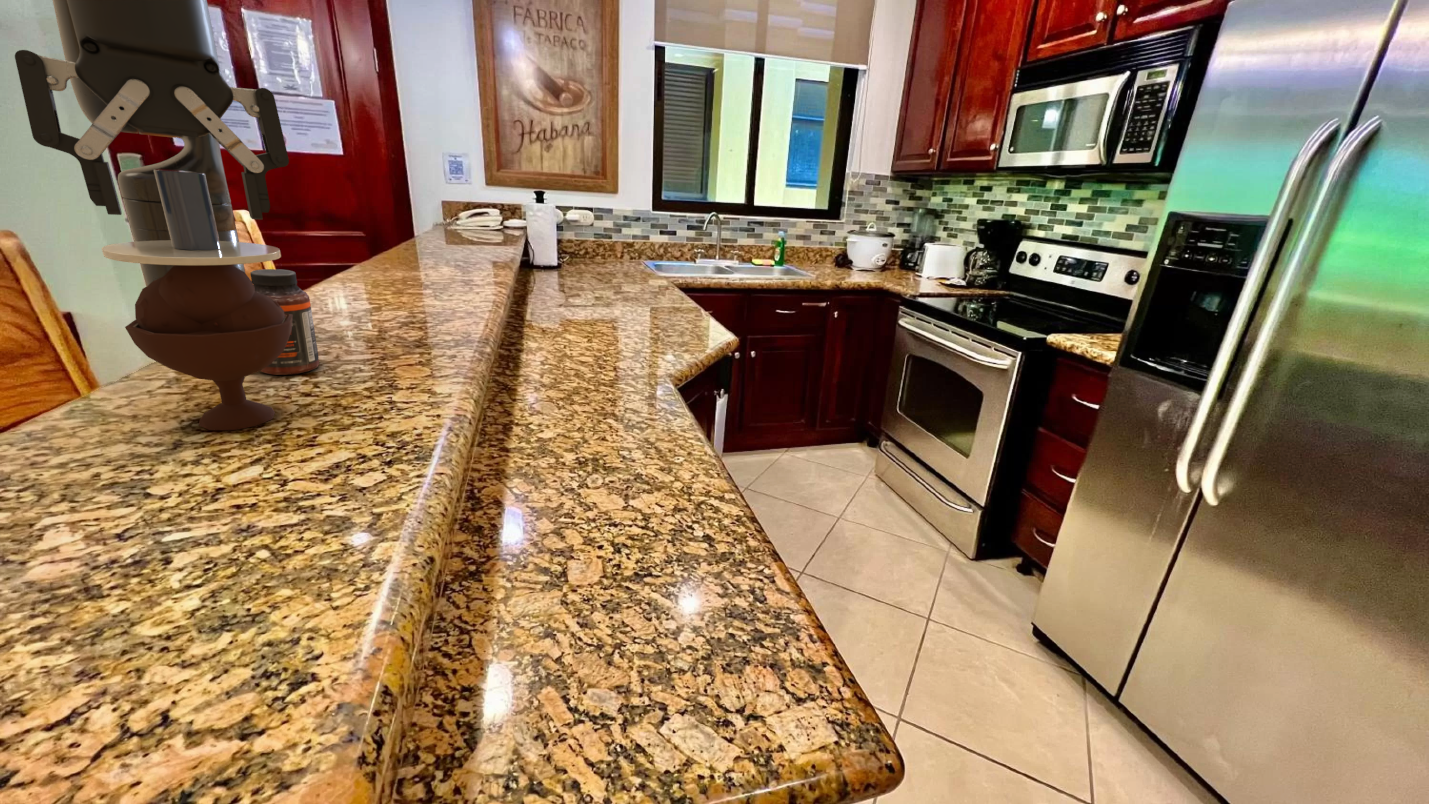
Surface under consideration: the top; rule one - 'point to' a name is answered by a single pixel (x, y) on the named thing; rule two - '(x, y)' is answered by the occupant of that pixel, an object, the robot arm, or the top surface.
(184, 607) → the top surface
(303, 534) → the top surface
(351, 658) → the top surface
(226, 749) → the top surface
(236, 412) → the ice cream bowl
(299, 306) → the supplement bottle
